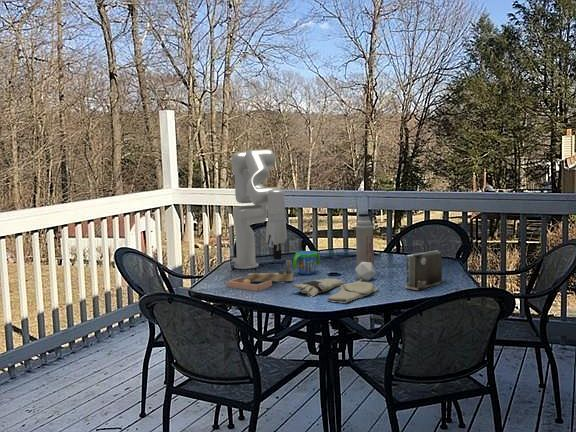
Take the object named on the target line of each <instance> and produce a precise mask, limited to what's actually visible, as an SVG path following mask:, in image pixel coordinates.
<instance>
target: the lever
mask: <svg viewBox="0 0 576 432" xmlns="http://www.w3.org/2000/svg"><path fill="white" fill-rule="evenodd" d="M285 270H286V271H284V269H279V270H278V272H261V273H260V272H259V273H255V272H254V273H253V272H252V273H251V272H250V273H248V274H247V279H248V280H250V282H266V281H269V280H272V282H275V281H288V282H293V281H294V275H293V274H294V273H293V260H292V259H286V260H285Z"/></svg>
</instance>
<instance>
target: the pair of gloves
mask: <svg viewBox="0 0 576 432" xmlns="http://www.w3.org/2000/svg"><path fill="white" fill-rule="evenodd" d="M291 287H292V288H296V289H297V290H299V291H300V292H301V293H302V294H306V295H307V296H308V297H309V296H315V295H316V296H317V295H319V294H322V293H321V292H323V293H326V292H327V291H329V290H331V289H333V288H335V287H339V289H338V290H339V291H337V292H336V293H334V294H331V295H329V296H328V297H327V302H328V301H335V302H343V303H344V302H345V303H346V304H347V302H348V303H350V302H349V301H351V302H353V301H352V300H354V301H355V299H356V300H358V299H357V298H359V299H361V298H364V296H365V297H367V296H368V295H370V294H373V293H375V292H377V291H379V287H377V286H375V285H374V284H373V283H372V282H369V281H363V280H362V279H360V280H359V279H358V280H356V281H354V282H349V283H345V282H344V281H343V280H341V279H339V278H324V279H316V280H309V281H305V282H302V283H299V284H298V283H297V284H292V286H291ZM325 291H326V292H325ZM318 293H319V294H318ZM316 296H315V297H316Z"/></svg>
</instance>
